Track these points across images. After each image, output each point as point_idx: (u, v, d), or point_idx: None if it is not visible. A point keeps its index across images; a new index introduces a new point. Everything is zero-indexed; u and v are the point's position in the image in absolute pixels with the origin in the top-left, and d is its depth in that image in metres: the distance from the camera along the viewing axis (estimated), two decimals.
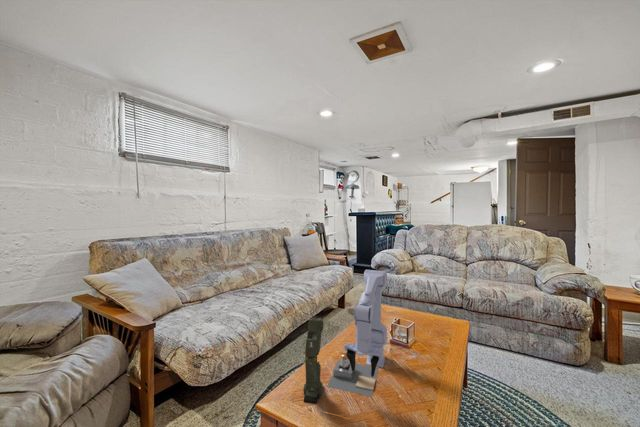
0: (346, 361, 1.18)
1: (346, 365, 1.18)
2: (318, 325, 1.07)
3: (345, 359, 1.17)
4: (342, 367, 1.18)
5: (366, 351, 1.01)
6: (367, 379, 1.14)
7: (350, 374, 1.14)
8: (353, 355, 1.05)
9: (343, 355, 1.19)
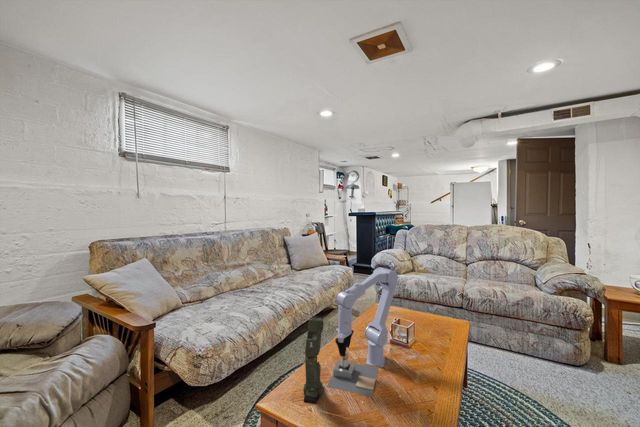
0: (346, 361, 1.18)
1: (346, 365, 1.18)
2: (318, 325, 1.07)
3: (345, 359, 1.17)
4: (342, 367, 1.18)
5: (339, 330, 1.18)
6: (367, 379, 1.14)
7: (350, 374, 1.14)
8: None
9: None
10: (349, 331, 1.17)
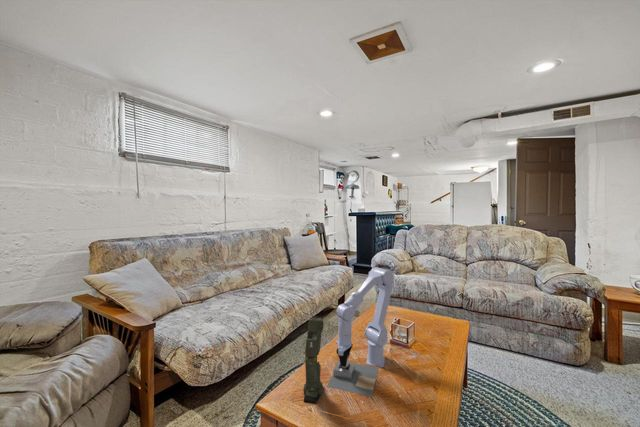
0: None
1: (346, 365, 1.18)
2: (318, 324, 1.07)
3: None
4: (342, 367, 1.18)
5: (338, 343, 1.18)
6: (367, 379, 1.14)
7: (350, 374, 1.14)
8: None
9: None
10: (349, 344, 1.17)
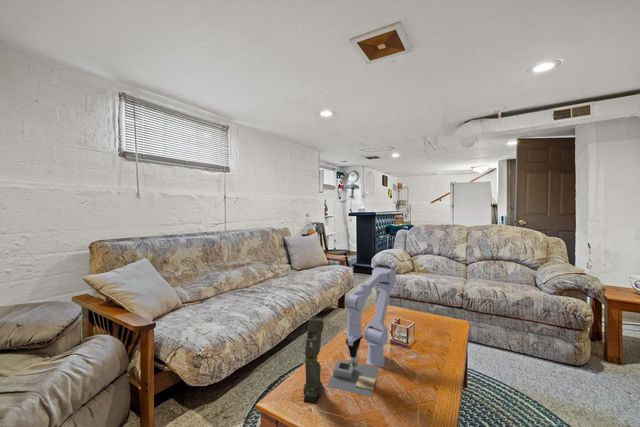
0: None
1: None
2: (318, 325, 1.07)
3: None
4: (351, 358, 1.15)
5: (348, 333, 1.15)
6: (367, 379, 1.14)
7: (350, 374, 1.14)
8: None
9: None
10: (359, 334, 1.13)
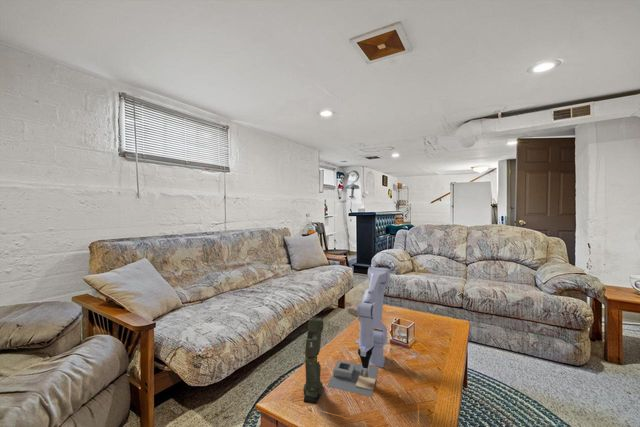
0: None
1: None
2: (318, 325, 1.07)
3: None
4: (363, 368, 1.11)
5: (360, 343, 1.11)
6: (367, 379, 1.14)
7: (350, 374, 1.14)
8: None
9: None
10: (371, 344, 1.10)
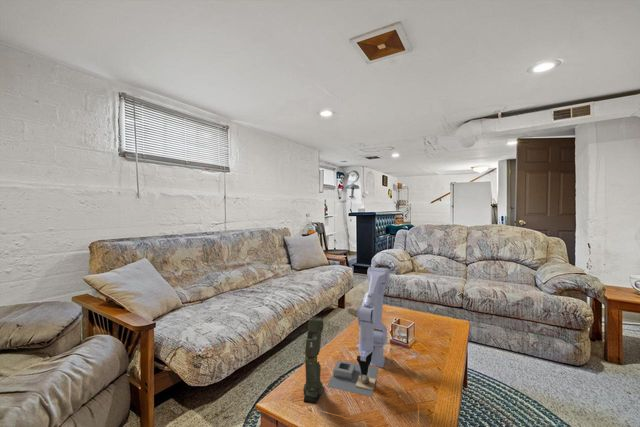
0: None
1: (367, 373, 1.11)
2: (318, 325, 1.07)
3: None
4: (362, 375, 1.11)
5: (360, 347, 1.11)
6: None
7: (350, 374, 1.14)
8: None
9: None
10: (371, 348, 1.10)
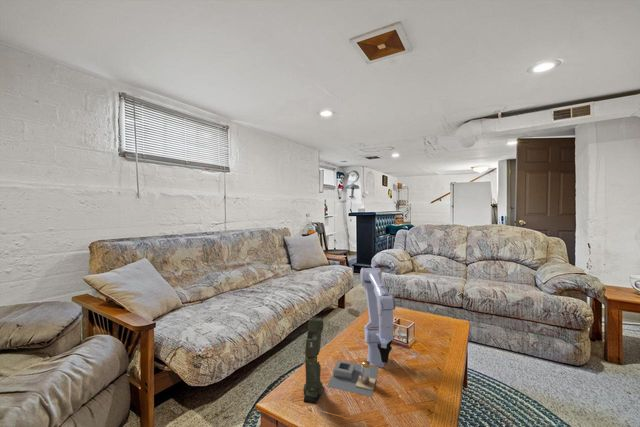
0: (367, 369, 1.11)
1: (367, 374, 1.11)
2: (318, 325, 1.07)
3: (366, 367, 1.11)
4: (363, 375, 1.11)
5: (380, 335, 1.13)
6: None
7: (350, 374, 1.14)
8: None
9: (364, 363, 1.12)
10: (391, 336, 1.11)
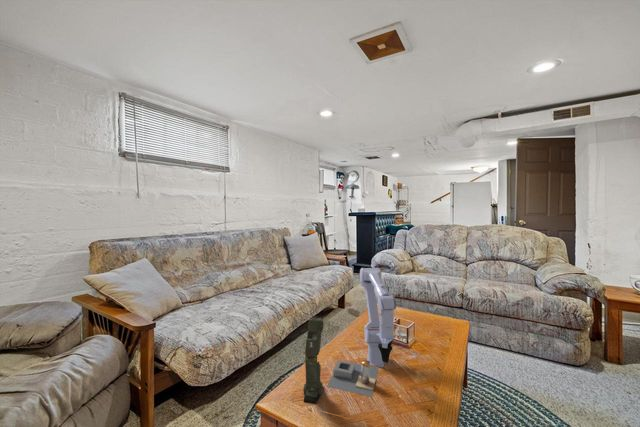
0: (367, 369, 1.11)
1: (367, 373, 1.11)
2: (318, 325, 1.07)
3: (366, 366, 1.11)
4: (363, 375, 1.11)
5: (380, 335, 1.13)
6: None
7: (350, 374, 1.14)
8: None
9: (364, 362, 1.12)
10: (392, 336, 1.12)
